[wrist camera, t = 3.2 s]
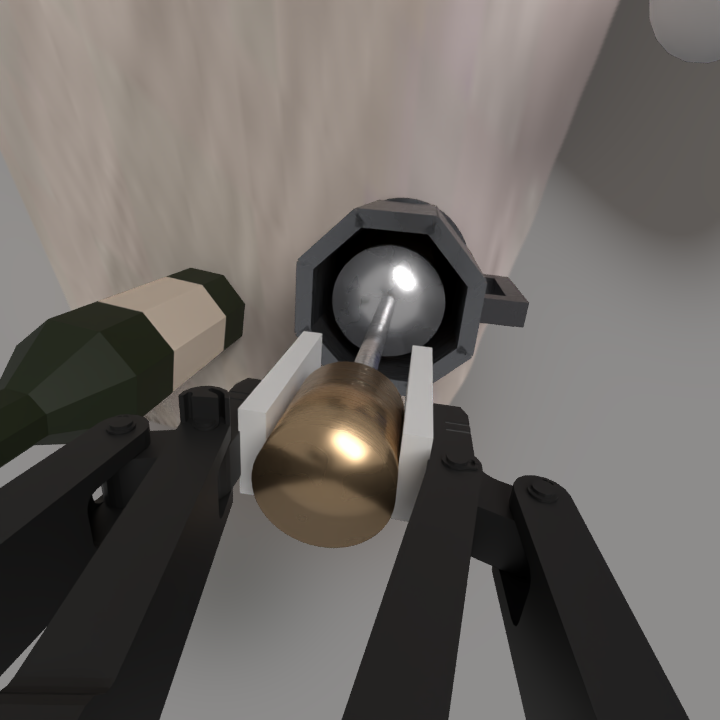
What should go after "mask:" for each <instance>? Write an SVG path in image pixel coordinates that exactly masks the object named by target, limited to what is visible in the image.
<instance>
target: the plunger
mask: <svg viewBox="0 0 720 720" xmlns="http://www.w3.org/2000/svg"><path fill="white" fill-rule="evenodd" d="M332 305H333V312H334V315H335V319H336V321H337V323H338V326H339V327H340V329H341V331H342V332H343V333H344V335H345V336H346V337H347V338H348V339H349V340H350V341H351V342H352V343H353V344H355V345H356V346H357V347H359V348H360V350H359V352H358V354H357V357H356V359H355V361H354V362H348V361H344V362H335V363H330V364H327V365H324V366H322V367H320V368H318V369H317V370H315V371H314V372H312V373H311V374H310V375H309V376H308V377H307V378H306V379H305V381H304V382H303V384H302V385H301V387H300V388H299V390H298V392H297V393H296V395H295V396H294V398H293V399H292V401H291V403H290V404H289V406H288V407H287V409H286V410H285V412H284V414H283V415H282V417H281V418H280V420H279V422H278V423H277V425H276V426H275V428H274V429H273V431H272V433H271V434H270V436H269V437H268V439H267V440H266V442H265V444H264V445H263V447H262V448H261V450H260V452H259V453H258V455H257V456H256V459H255V461H254V464H253V468H252V476H251V481H252V489H253V493H254V496H255V499H256V501H257V503H258V505H259V507H260V508H261V510H262V512H263V513H264V514H265V516H266V517H267V518H268V519H269V520H270V521H271V522H272V523H273V524H274V525H275V526H276V527H277V528H278V529H280V530H281V531H283V532H284V533H285V534H287V535H289V536H291V537H292V538H295V539H297V540H299V541H301V542H304V543H307V544H310V545H314V546H318V547H327V548H340V547H349V546H354V545H357V544H360V543H362V542H364V541H367V540H368V539H370V538H372V537H373V536H375V535H376V534H378V533H379V532H380V531H381V530H382V529H383V528H384V527H385V525H386V524H387V523H388V521H389V519H390V518H391V515H392V513H393V511H394V506H395V501H396V492H397V483H398V465H399V456H400V448H401V439H402V430H403V421H404V412H405V411H404V405H403V401H402V398H401V395H400V393H399V392H398V390H397V388H396V387H395V385H394V384H393V383H392V382H391V381H390V380H389V379H388V378H387V377H386V376H385V375H384V374H382V373H381V372H379V371H378V366H379V362H380V359H381V356H399V355H404V354H407V353H410V352H412V347H413V345H415V346H423V345H424V344H425V343H427V342H428V341H429V340H430V339H431V338H432V337H433V335H434V334H435V333H436V331H437V329H438V328H439V326H440V324H441V321H442V319H443V315H444V311H445V293H444V287H443V283H442V280H441V278H440V276H439V274H438V272H437V270H436V269H435V267H434V266H433V265H432V263H431V262H430V261H429V260H428V259H427V258H426V257H424V256H423V255H422V254H420V253H419V252H417V251H415V250H413V249H411V248H408V247H405V246H402V245H396V244H383V245H377V246H373V247H370V248H367V249H365V250H363V251H361V252H360V253H358V254H357V255H356V256H354V257H353V258H352V259H351V260H350V261H349V262H348V263H347V264H346V265H345V266H344V268H343V269H342V270H341V272H340V274H339V275H338V277H337V280H336V282H335V285H334V289H333V296H332Z"/></svg>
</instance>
